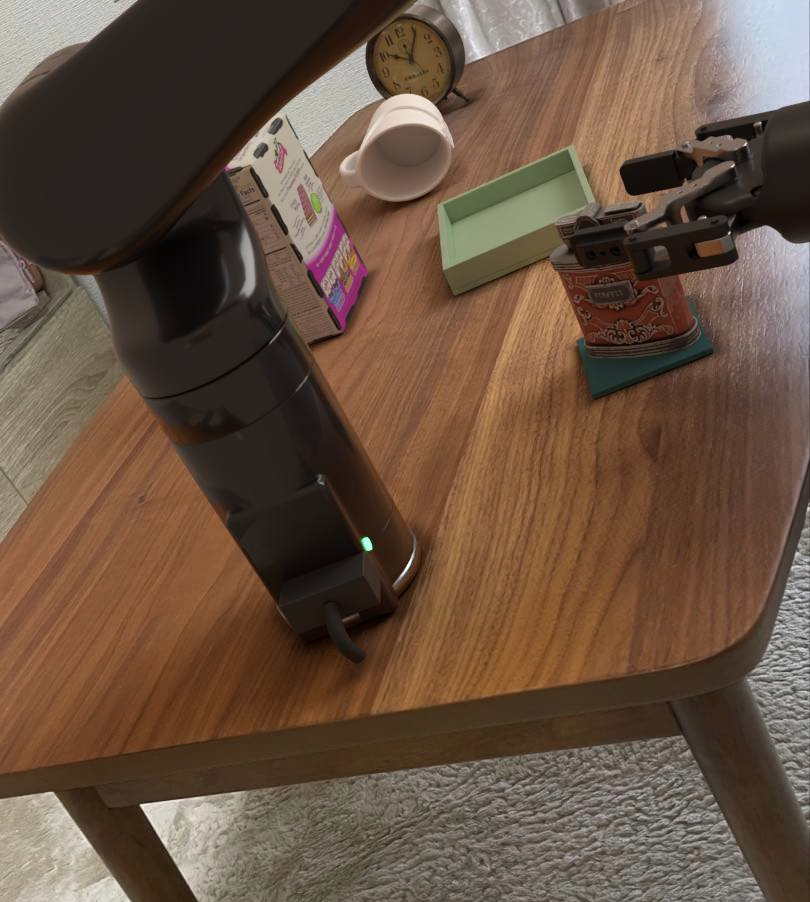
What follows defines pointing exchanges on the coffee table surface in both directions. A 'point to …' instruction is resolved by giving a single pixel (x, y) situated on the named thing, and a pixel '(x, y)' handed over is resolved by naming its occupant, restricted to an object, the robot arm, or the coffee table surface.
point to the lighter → (621, 295)
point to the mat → (638, 364)
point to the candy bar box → (298, 230)
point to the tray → (510, 219)
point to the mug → (401, 151)
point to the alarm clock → (417, 56)
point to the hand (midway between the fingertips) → (600, 213)
